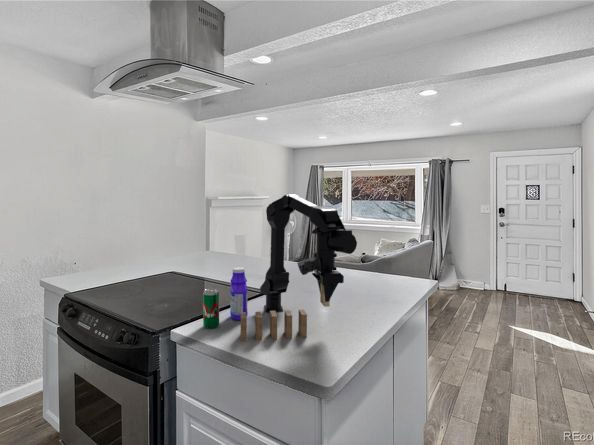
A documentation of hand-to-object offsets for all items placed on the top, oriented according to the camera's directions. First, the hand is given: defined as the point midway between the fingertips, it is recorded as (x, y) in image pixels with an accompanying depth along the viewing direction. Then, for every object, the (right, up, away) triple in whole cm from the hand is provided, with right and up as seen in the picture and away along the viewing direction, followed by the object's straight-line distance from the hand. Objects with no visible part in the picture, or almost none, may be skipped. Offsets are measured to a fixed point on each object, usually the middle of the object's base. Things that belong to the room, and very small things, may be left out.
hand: (324, 299), depth 110 cm
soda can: (-36, -10, +5) cm, 38 cm away
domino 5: (-7, -11, -1) cm, 13 cm away
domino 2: (-20, -11, -3) cm, 23 cm away
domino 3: (-16, -11, -2) cm, 19 cm away
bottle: (-29, -10, +14) cm, 33 cm away
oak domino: (0, -2, 0) cm, 2 cm away
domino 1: (-25, -11, -4) cm, 27 cm away
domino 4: (-11, -11, -1) cm, 16 cm away
